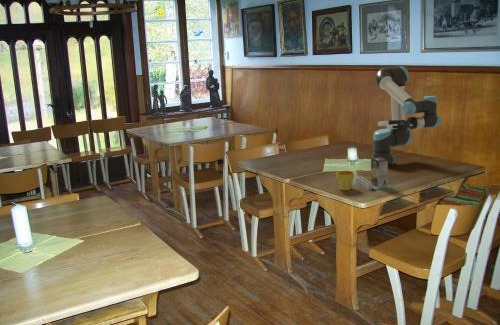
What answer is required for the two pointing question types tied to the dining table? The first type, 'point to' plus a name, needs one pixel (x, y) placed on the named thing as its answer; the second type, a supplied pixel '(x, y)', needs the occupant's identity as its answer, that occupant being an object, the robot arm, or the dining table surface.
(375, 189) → the pad
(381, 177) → the coffee box
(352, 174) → the plant pot
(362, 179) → the steel rail
